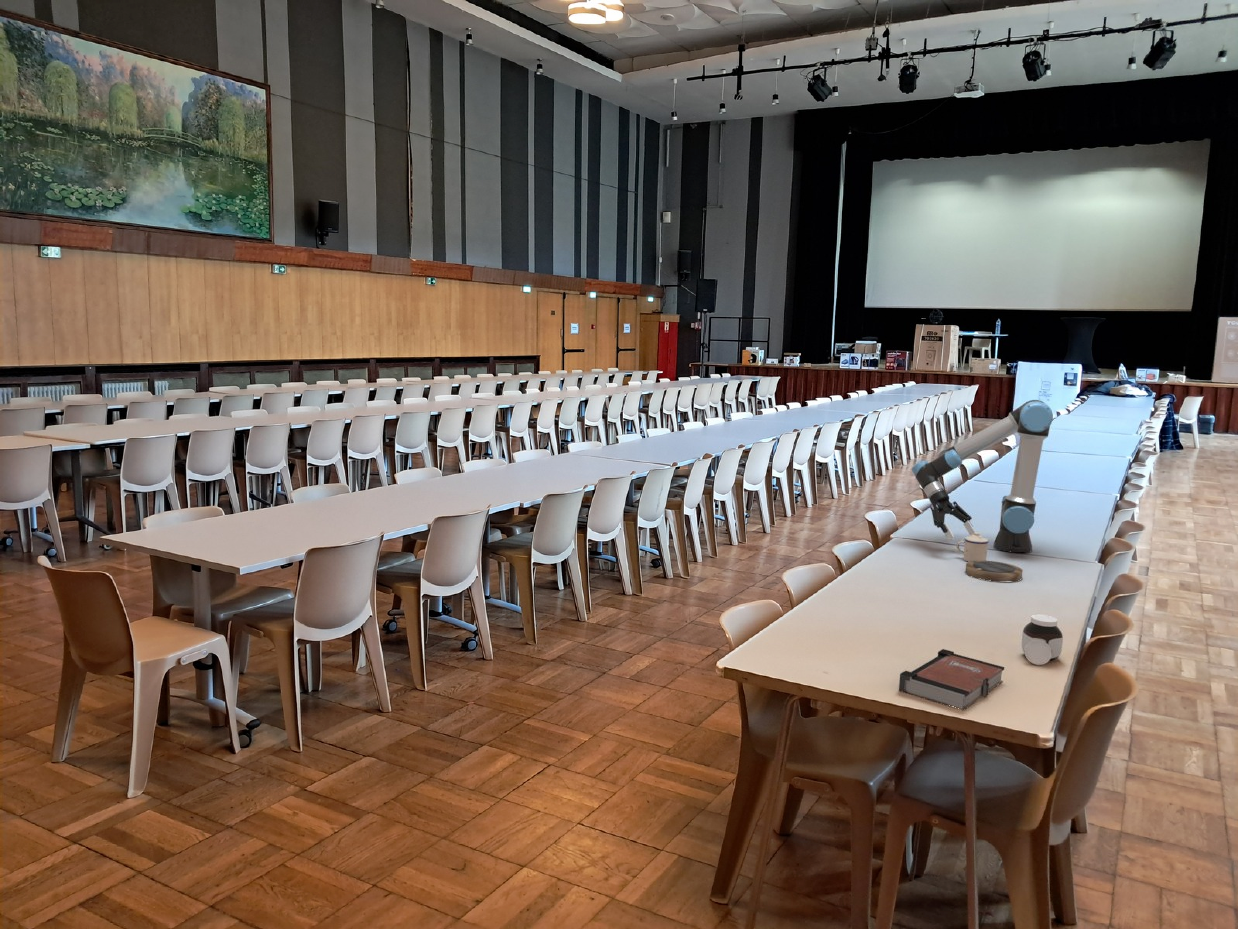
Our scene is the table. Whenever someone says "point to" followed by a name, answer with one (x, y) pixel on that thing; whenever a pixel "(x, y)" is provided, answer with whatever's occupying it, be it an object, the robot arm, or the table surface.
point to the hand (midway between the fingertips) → (963, 537)
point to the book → (952, 679)
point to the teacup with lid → (974, 548)
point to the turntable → (993, 571)
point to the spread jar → (1042, 639)
